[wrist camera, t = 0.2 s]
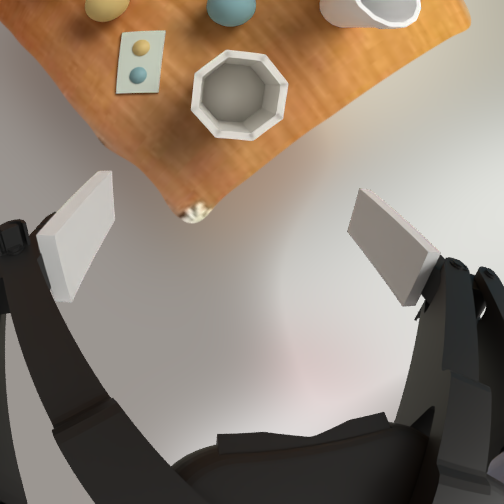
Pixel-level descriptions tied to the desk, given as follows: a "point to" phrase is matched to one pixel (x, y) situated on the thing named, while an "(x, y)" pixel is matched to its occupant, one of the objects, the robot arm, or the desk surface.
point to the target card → (140, 62)
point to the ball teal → (231, 11)
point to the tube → (239, 95)
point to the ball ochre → (105, 9)
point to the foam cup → (370, 13)
